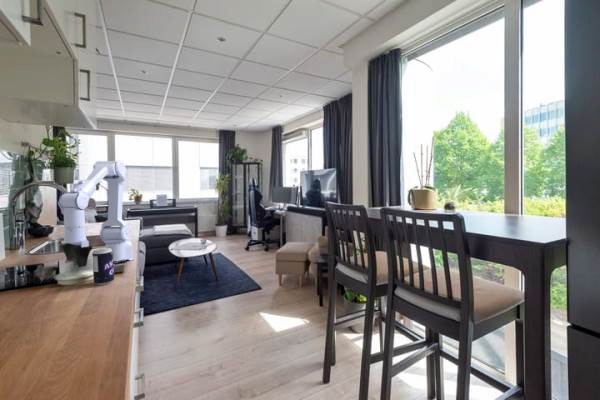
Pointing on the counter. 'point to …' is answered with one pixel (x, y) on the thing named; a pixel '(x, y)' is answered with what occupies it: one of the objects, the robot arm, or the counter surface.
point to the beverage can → (103, 265)
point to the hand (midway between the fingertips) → (77, 264)
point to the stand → (75, 279)
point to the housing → (74, 267)
